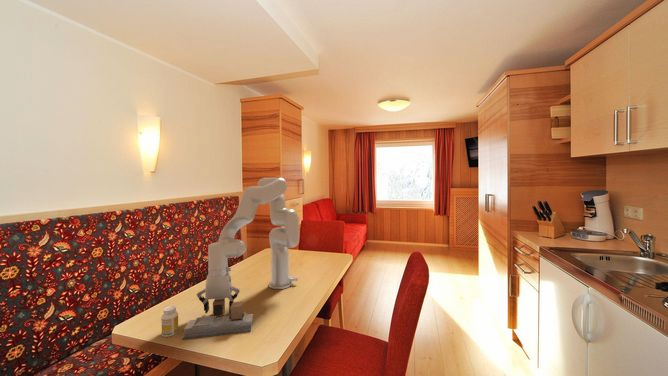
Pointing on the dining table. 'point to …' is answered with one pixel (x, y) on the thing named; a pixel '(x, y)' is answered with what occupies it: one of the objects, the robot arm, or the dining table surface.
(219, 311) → the brown rectangular block
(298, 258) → the dining table surface
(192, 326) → the rail
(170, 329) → the supplement bottle
